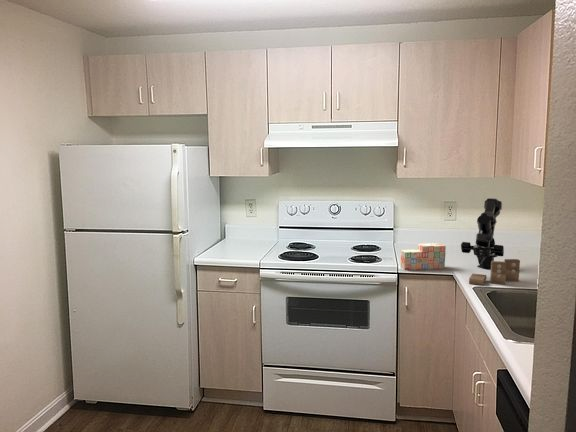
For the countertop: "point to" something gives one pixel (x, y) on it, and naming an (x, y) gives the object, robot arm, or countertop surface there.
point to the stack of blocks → (424, 257)
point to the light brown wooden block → (498, 272)
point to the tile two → (512, 269)
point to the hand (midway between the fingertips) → (479, 263)
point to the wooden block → (477, 279)
